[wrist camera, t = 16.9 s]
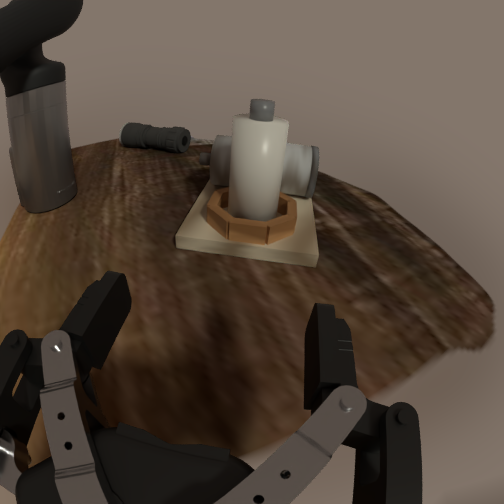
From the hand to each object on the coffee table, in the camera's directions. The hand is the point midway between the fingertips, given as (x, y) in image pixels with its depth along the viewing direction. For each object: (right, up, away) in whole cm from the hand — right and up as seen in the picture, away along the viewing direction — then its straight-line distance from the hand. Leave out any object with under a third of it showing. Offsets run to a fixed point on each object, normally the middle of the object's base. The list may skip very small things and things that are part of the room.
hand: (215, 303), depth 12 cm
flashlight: (-19, +23, +44) cm, 53 cm away
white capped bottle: (+1, +6, +20) cm, 21 cm away
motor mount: (+2, +6, +24) cm, 25 cm away
